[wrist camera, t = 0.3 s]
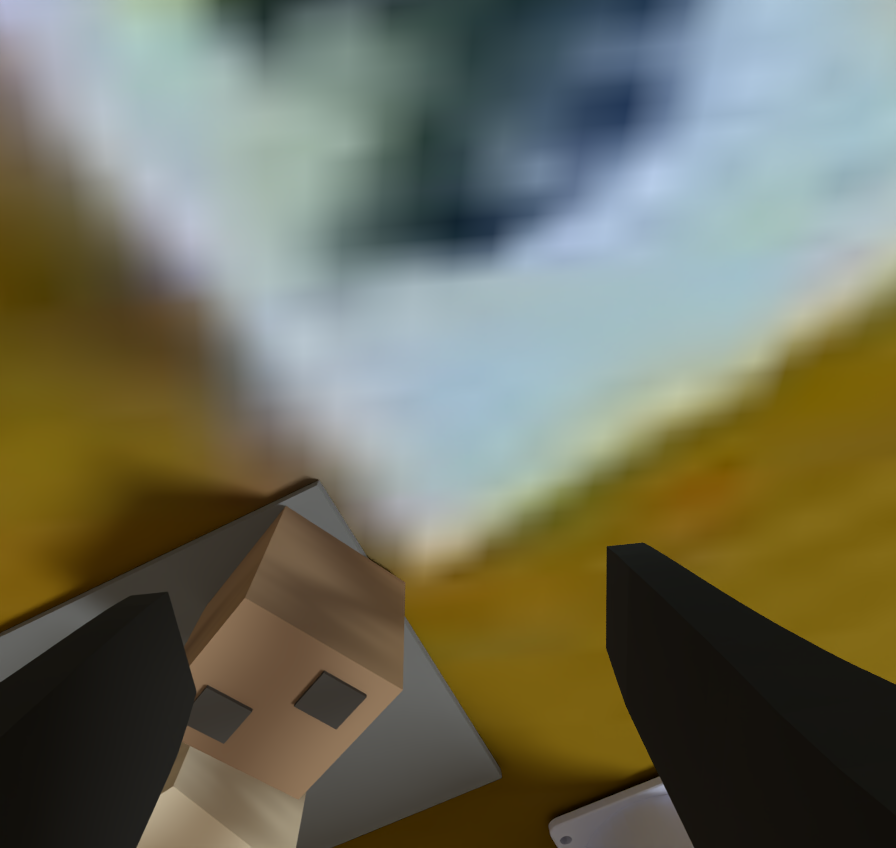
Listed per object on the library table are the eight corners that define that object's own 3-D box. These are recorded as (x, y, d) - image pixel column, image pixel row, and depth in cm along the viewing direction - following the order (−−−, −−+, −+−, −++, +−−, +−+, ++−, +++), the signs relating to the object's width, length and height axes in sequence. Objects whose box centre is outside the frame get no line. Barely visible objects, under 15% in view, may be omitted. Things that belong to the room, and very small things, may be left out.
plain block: (315, 740, 23) (290, 877, 18) (220, 801, 23) (171, 947, 19) (226, 660, 21) (173, 786, 16) (127, 727, 22) (49, 866, 17)
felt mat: (500, 769, 24) (501, 777, 24) (137, 918, 26) (133, 929, 26) (318, 480, 19) (317, 484, 19) (-112, 687, 21) (-122, 695, 21)
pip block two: (405, 582, 21) (402, 693, 16) (323, 674, 22) (297, 803, 17) (286, 505, 19) (243, 600, 14) (205, 606, 20) (141, 725, 16)
